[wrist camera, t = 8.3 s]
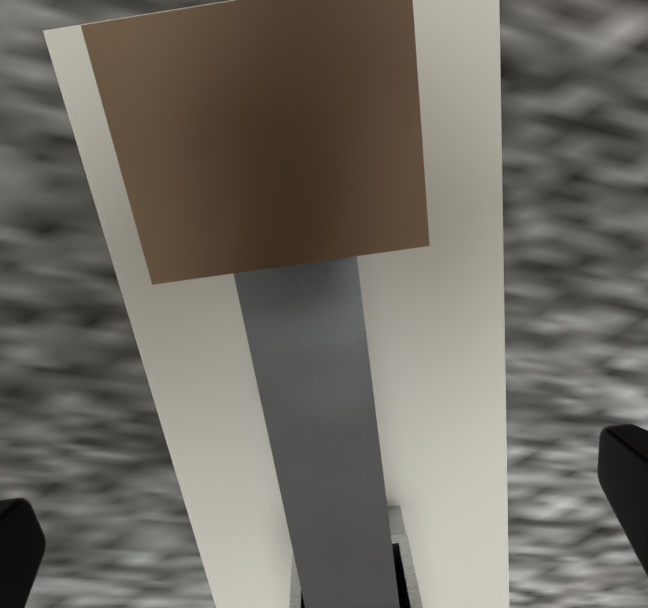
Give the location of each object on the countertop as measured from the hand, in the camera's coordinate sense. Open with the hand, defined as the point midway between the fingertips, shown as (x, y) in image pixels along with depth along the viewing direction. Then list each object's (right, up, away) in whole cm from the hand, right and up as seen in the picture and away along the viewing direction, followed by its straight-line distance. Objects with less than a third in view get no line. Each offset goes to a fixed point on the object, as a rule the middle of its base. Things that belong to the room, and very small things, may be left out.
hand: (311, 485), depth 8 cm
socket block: (-1, +9, +9) cm, 13 cm away
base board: (+1, -2, +14) cm, 14 cm away
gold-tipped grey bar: (0, 0, +9) cm, 9 cm away
